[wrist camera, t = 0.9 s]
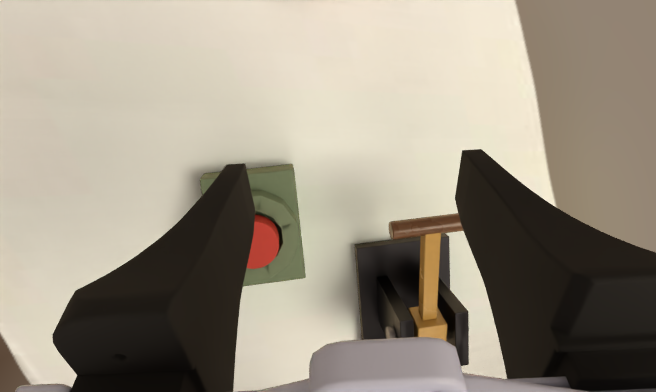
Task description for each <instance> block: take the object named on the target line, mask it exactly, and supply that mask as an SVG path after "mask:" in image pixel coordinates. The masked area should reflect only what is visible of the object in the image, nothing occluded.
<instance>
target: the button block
mask: <svg viewBox="0 0 656 392" xmlns="http://www.w3.org/2000/svg"><path fill="white" fill-rule="evenodd" d="M246 170H247V174H248V179H249V184H250V188H251V193H252V197H253V202H254V206H255V214H256V215H262V216H264V217H267V218H268V219H270V220H271V221H272V222H273V223H274V224H275V226H276V228H277V230H278V234H279V250H278V253H277V255H276V257H275V258H274V260H273V261H272V262H271V263H269V264H268V265H266V266H264V267H261V268H257V269H249V268H246V273H245V278H244V282H243V286H249V285H256V284H264V283H271V282H279V281H286V280H294V279H301V278H305V267H304V258H303V249H302V240H301V230H300V221H299V212H298V203H297V193H296V184H295V175H294V168H293V165H292V164H288V165H279V166H270V167H261V168H251V169H246ZM220 173H221V172H214V173H205V174H204V175H203V176H202V177H201V179H200V185H201V191H202V195H203V194H204V193H205V192H206V190H207V189H208V188H209V187H210V185H211V184H212V183H213V182H214V180H215V179H216V178H217V176H218V175H219V174H220Z"/></svg>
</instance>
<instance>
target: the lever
mask: <svg viewBox="0 0 656 392" xmlns="http://www.w3.org/2000/svg"><path fill="white" fill-rule="evenodd" d="M457 231H464V230H463V228H462V225H461V221H460V217H459V214H458V213H456V214H448V215H440V216H432V217H424V218H416V219H408V220H400V221H391V222H389V233H390V237H391V239H393V240H394V239H402V238H410V237H418V236H421V240H420V276H419V306H418V307H411V308H409V313H410V315H411V316H412V318H413V320H414V337H430V338H440V339H443V340H444V341H446V337H447V323H446V321H445V319H444V318H443V316H442V314H441V312H440V310H439V309H438V307H437V300H438V280H439V260H440V240H441V233H449V232H457Z"/></svg>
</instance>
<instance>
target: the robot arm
mask: <svg viewBox="0 0 656 392" xmlns="http://www.w3.org/2000/svg"><path fill="white" fill-rule="evenodd" d="M455 200H456V205H457V209H458V214H459V217H460V221H461V225H462V228H463V230H464V233H465V235H466V238H467V240H468V243H469V246H470V248H471V251H472V253H473V256H474V258H475V261H476V263H477V266H478V268H479V271H480V273H481V276H482V278H483V281H484V284H485V287H486V291H487V294H488V298H489V302H490V306H491V309H492V313H493V317H494V321H495V325H496V329H497V333H498V337H499V342H500V346H501V351H502V355H503V360H504V365H505V369H506V374H507V379H501V378H494V377H487V376H481V375H474V374H467V373H462V369H461V365H460V361H459V357H458V354H457V350H456V347H455V346H453V345H452V344H450V343H448V342H446V341H444V340H443V339H440V338H430V337H411V338H390V339H370V340H350V341H340V342H335V343H330V344H327V345H325V346H323V347H322V348H320V349H319V350H317V351H316V352H314V353H313V355H312V358H311V361H310V368H309V379H305V380H301V381H297V382H293V383H289V384H284V385H280V386H276V387H272V388H268V389H264V390H260V391H239V392H656V253H655V252H652V251H649V250H646V249H643V248H640V247H637V246H635V245H632V244H630V243H627V242H625V241H622V240H620V239H617V238H614V237H612V236H610V235H608V234H605V233H603V232H601V231H599V230H597V229H595V228H593V227H590V226H589V225H586V224H585V223H583V222H581V221H579V220H577V219H575V218H573V217H571V216H570V215H568V214H566V213H564V212H563V211H561V210H560V209H558V208H556V207H555V206H553V205H551V204H550V203H548V202H547V201H545V200H544V199H542V198H541V197H540V196H538V195H537V194H535V193H534V192H533V191H531V190H530V189H529V188H527V187H526V186H525V185H523V184H522V183H521V182H519V181H518V180H517V179H516V178H514V177H513V176H512V175H511V174H510V173H508V172H507V171H506V170H505V169H504V168H503V167H501V166H500V165H499V164H498V163H497V162H496V161H494V160H493V159H492V158H491V157H490V156H489V155H487V154H486V153H485V152H484V151H483V150H481V149H479V150H462V156H461V163H460V169H459V176H458V182H457V189H456V195H455ZM254 222H255V206H254V202H253V197H252V193H251V188H250V184H249V179H248V174H247V170H246V165H245V164H231V165H226V167H225V168H224V169H223V170H222V171H221V173H220V174H219V175H218V176H217V178H216V179H215V180H214V182H213V183H212V184H211V185H210V187H209V188H208V189H207V190H206V192H205V193H204V194H203V195H202V196H201V198H200V199H199V200H198V201H197V202H196V204H195V205H194V206H193V207H192V208H191V209H190V210H189V211H188V212H187V213H186V214H185V215H184V217H183V218H182V219H181V220H180V221H179V222H178V223H177V224H176V225H175V226H173V227H172V228H171V229H170V230H169V231H168V232H167V233H166V234H164V235H163V236H162V237H161V238H160V239H158V240H157V241H156V242H155V243H153V244H152V245H151V246H149V247H148V248H147V249H145V250H144V251H143V252H141V253H140V254H139V255H137V256H136V257H134V258H133V259H131V260H130V261H128V262H127V263H125V264H124V265H122V266H120V267H119V268H117V269H115V270H114V271H112V272H110V273H109V274H107V275H105V276H103V277H101V278H99V279H97V280H96V281H94V282H92V283H90V284H88V285H86V286H84V287H82V288H80V289H78V290H76V291H75V293H74V294H73V296H72V298H71V299H70V301H69V303H68V305H67V307H66V309H65V311H64V313H63V315H62V317H61V319H60V321H59V323H58V325H57V327H56V329H55V331H54V333H53V343H54V345H55V347H56V348H57V350H58V352H59V353H60V354H61V355H62V357H63V358H64V359H65V360H66V362H67V363H68V364H69V365H70V367H71V368H72V369H73V370H74V371H75V373H76V374H77V378H76V380H75V382H74V384H73V387H72V388H71V387H70V386H67V385H64V384H41V385H22V386H19V387H18V388H17V389H16V391H15V392H233V383H234V367H235V351H236V339H237V327H238V317H239V307H240V298H241V292H242V287H243V282H244V278H245V273H246V268H247V264H248V259H249V254H250V250H251V245H252V240H253V234H254Z"/></svg>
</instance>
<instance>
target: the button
mask: <svg viewBox="0 0 656 392" xmlns="http://www.w3.org/2000/svg"><path fill="white" fill-rule="evenodd" d="M278 250H279V234H278V230H277V228H276V226H275V224H274V223H273V222H272V221H271V220H270V219H268V218H267V217H264V216H262V215H256V214H255V222H254V234H253V240H252V245H251V250H250V254H249V259H248V264H247V268H249V269H257V268H261V267H264V266H266V265H268V264H269V263H271V262H272V261H273V260H274V258H275V257H276V255H277V253H278Z"/></svg>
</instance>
